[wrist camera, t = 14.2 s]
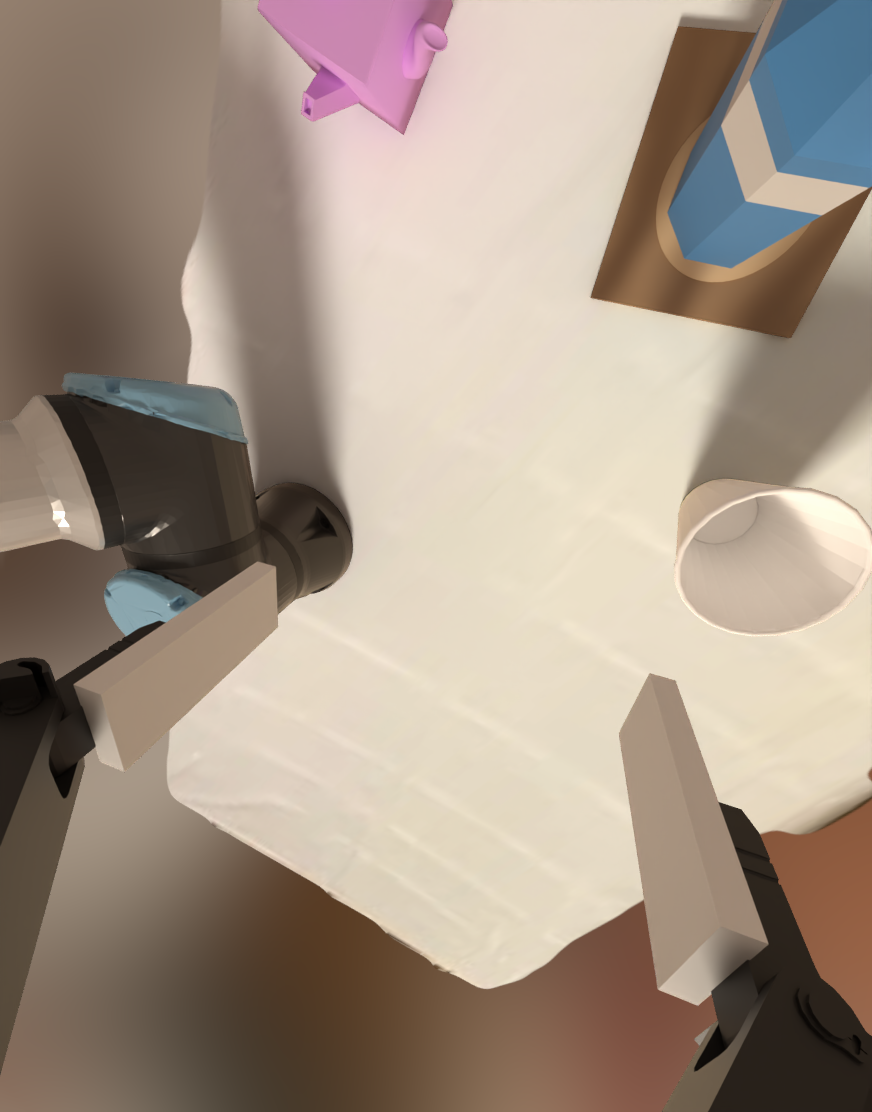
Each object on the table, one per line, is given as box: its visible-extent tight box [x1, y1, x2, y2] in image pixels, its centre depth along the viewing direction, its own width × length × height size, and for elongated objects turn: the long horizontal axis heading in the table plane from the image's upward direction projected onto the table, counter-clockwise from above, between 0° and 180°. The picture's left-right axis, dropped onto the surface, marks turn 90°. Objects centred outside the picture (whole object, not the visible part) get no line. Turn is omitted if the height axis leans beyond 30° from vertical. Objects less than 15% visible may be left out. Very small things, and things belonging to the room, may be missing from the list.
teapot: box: [258, 0, 453, 135], centre depth 30 cm, size 18×13×10 cm
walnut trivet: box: [591, 26, 872, 338], centre depth 31 cm, size 16×16×1 cm
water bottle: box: [667, 0, 872, 268], centre depth 20 cm, size 9×9×25 cm
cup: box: [674, 479, 872, 636], centre depth 35 cm, size 12×12×12 cm
